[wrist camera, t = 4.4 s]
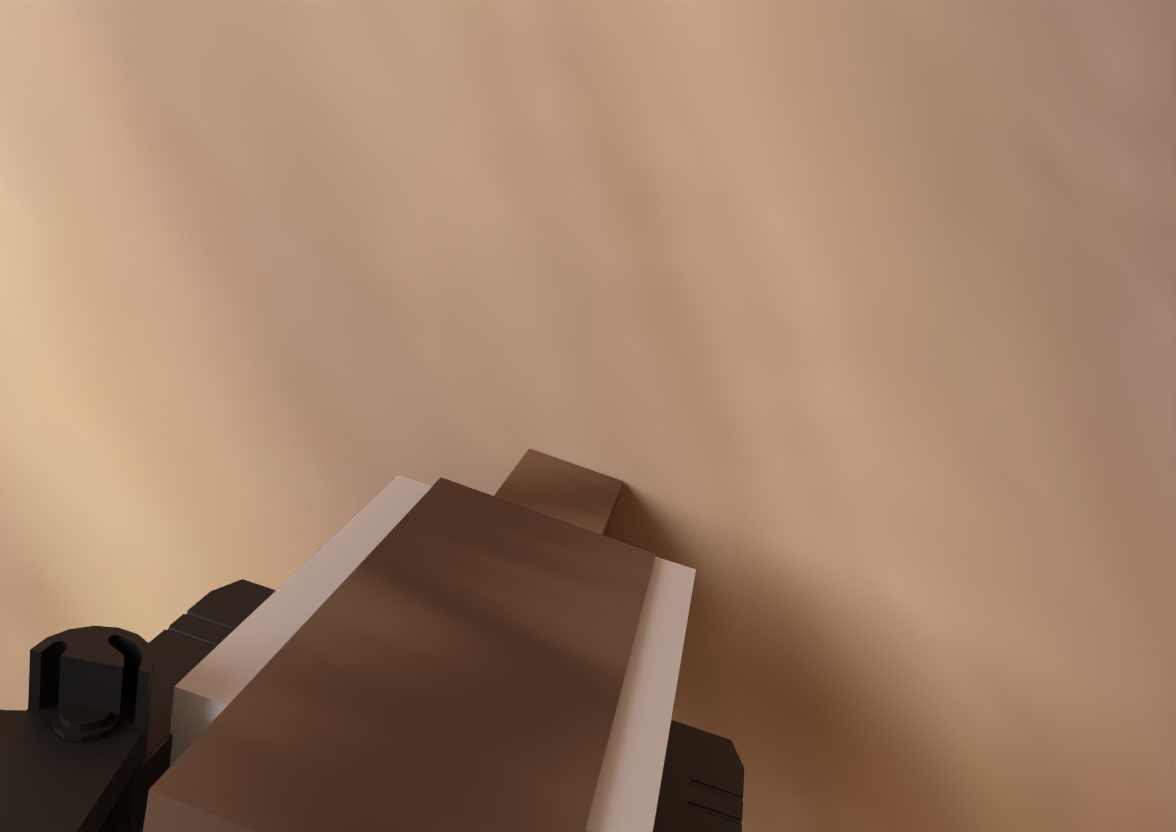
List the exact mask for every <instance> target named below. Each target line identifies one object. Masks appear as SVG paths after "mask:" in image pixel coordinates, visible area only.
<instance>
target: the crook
mask: <svg viewBox="0 0 1176 832" xmlns="http://www.w3.org/2000/svg"><path fill="white" fill-rule="evenodd" d="M622 483H623V482H622V481H619V480H617V479H614V478H611V477H608V476H605V475H602V474H599V473H597V472H594V471H591V470H588V469H585V468H582V467H579V466H577V465H574V464H571V463H568V462H565V461H562V460H559V459H557V458H554V457H551V456H548V455H545V454H542V453H539V452H536V451H534V450H531V449H529V450H528V451H527V452H526V454H525V455H524V456H523V458H522V459H521V460H520V462H519V463H518V464H517V466H516V467H515V468H514V470H513V471H512V472H511V474H510V475H509V476H508V478H507V479H506V481H505V482H504V483H503V485H502V486H501V487H500V489H499V490H498V491H497V493H496V494H495V495H494V496H492V495H489V494H486V493H483V492H480V491H478V490H475V489H472V488H469V487H466V486H464V485H461V484H458V483H455V482H452V481H450V480H447V479H444V478H440V479H439V480H438V481H437V482H436V483H435V484H434V485H433V486H432V487H431V488H430V490H429V491H428V492H427V493H426V494H425V495H424V496H423V497H422V498H421V499H420V500H419V501H418V502H417V503H416V504H415V506H414V507H413V508H412V509H411V510H410V511H409V512H408V513H407V514H406V515H405V516H404V517H403V518H402V519H401V521H400V522H399V523H398V524H397V525H396V526H395V527H394V528H393V529H392V530H391V531H390V532H389V533H388V534H387V536H386V537H385V538H384V539H383V540H382V541H381V542H380V543H379V544H378V545H377V546H376V547H375V548H374V549H373V550H372V552H371V553H370V554H369V555H368V556H367V557H366V558H365V559H364V560H363V561H362V562H361V563H360V564H359V565H358V567H357V568H356V569H355V570H354V571H353V572H352V573H351V574H350V575H349V576H348V577H347V578H346V579H345V580H344V581H343V583H342V584H341V585H340V586H339V587H338V588H337V589H336V590H335V591H334V592H333V593H332V594H331V595H330V596H329V598H328V599H327V600H326V601H325V602H324V603H323V604H322V605H321V606H320V607H319V608H318V609H317V610H316V611H315V613H314V614H313V615H312V616H311V617H310V618H309V619H308V620H307V621H306V622H305V623H304V624H303V625H302V626H301V627H300V629H299V630H298V631H297V632H296V633H295V634H294V635H293V636H292V637H291V638H290V639H289V640H288V641H287V642H286V644H285V645H284V646H283V647H282V648H281V649H280V650H279V651H278V652H277V653H276V654H275V655H274V656H273V657H272V658H271V660H270V661H269V662H268V663H267V664H266V665H265V666H264V667H263V668H262V669H261V670H260V671H259V672H258V673H257V675H256V676H255V677H254V678H253V679H252V680H251V681H250V682H249V683H248V684H247V685H246V686H245V687H244V688H243V690H242V691H241V692H240V693H239V694H238V695H237V696H236V697H235V698H234V699H233V700H232V701H231V702H230V703H229V704H228V706H227V707H226V708H225V709H224V710H223V711H222V712H221V713H220V714H219V715H218V716H217V717H216V718H215V719H214V721H213V722H212V723H211V724H210V725H209V726H208V727H207V728H206V729H205V730H204V731H203V732H202V733H201V734H200V735H199V737H198V738H197V739H196V740H195V741H194V742H193V743H192V744H191V745H190V746H189V747H188V748H187V749H186V750H185V752H184V753H183V754H182V755H181V756H180V757H179V758H178V759H177V760H176V761H175V762H174V763H173V764H172V765H171V767H170V768H169V769H168V770H167V771H166V772H165V773H164V774H163V775H162V776H161V777H160V778H159V779H158V780H157V781H156V783H155V784H154V785H153V786H152V787H151V788H150V789H149V793H148V800H147V806H146V813H145V820H144V826H143V832H585V828H586V825H587V821H588V817H589V813H590V809H591V805H592V801H593V797H594V794H595V790H596V786H597V782H598V778H599V774H600V770H601V766H602V762H603V759H604V755H605V751H606V747H607V743H608V739H609V735H610V731H611V728H612V724H613V720H614V716H615V712H616V708H617V704H618V700H619V697H620V693H621V689H622V685H623V681H624V677H625V673H626V669H627V665H628V662H629V658H630V654H631V650H632V646H633V642H634V638H635V634H636V631H637V627H638V623H639V619H640V615H641V611H642V607H643V603H644V600H645V596H646V592H647V588H648V584H649V580H650V576H651V572H652V568H653V565H654V561H655V557H656V554H655V553H652V552H649V551H646V550H644V549H641V548H638V547H635V546H632V545H629V544H627V543H624V542H621V541H618V540H615V539H613V538H610V537H607V536H605V534H606V531H607V528H608V525H609V522H610V519H611V516H612V513H613V510H614V507H615V504H616V501H617V498H618V495H619V492H620V489H621V486H622Z"/></svg>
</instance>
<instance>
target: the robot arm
mask: <svg viewBox="0 0 1176 832" xmlns="http://www.w3.org/2000/svg"><path fill="white" fill-rule="evenodd" d="M431 487H432V486H430V485H427V484H424V483H421V482H418V481H415V480H411V479H408V478H405V477H402V476H399V475H398V476H397V477H396V478H395V479H394V480H393V481H392V482H391V483H390V484H388V485H387V486H386V487H385V488H384V489H383V490H382V491H381V492H380V493H379V494H378V495H377V496H376V497H375V498H374V499H373V500H372V501H370V502H369V503H368V504H367V505H366V506H365V507H364V508H363V509H362V510H361V511H360V512H359V513H358V514H357V515H356V516H355V517H353V518H352V519H351V520H350V521H349V522H348V523H347V524H346V525H345V526H344V527H343V528H342V529H341V530H340V531H339V532H338V533H337V534H335V535H334V536H333V537H332V538H331V539H330V540H329V541H328V542H327V543H326V544H325V545H324V546H323V547H322V548H321V549H320V550H318V551H317V552H316V553H315V554H314V555H313V556H312V557H311V558H310V559H309V560H308V561H307V562H306V563H305V564H304V565H303V566H302V567H300V568H299V569H298V570H297V571H296V572H295V573H294V574H293V575H292V576H291V577H290V578H289V579H288V580H287V581H286V582H285V583H284V584H282V585H281V586H280V587H279V588H278V589H277V590H273V589H270V588H267V587H264V586H261V585H258V584H255V583H252V582H249V581H246V580H243V579H242V580H239V581H237V582H234V583H232V584H229V585H226V586H224V587H221V588H218V589H216V590H213V591H211V592H209V593H208V594H207V595H206V596H205V597H203V598H202V599H201V600H200V601H199V602H197V603H196V604H195V605H194V606H193V607H191V608H190V609H189V610H188V612H187V614H186V615H185V614H183V615H182V616H181V617H179V618H178V619H177V620H176V621H175V622H173V623H172V624H171V625H170V626H169V629H168V630H164V631H163V632H161V633H160V634H159V635H158V636H157V637H155V638H154V639H153V640H152V641H151V642H149V643H148V642H146V641H145V640H144V639H143V638H142V637H140V636H139V635H138V634H135V633H132V632H129V631H126V630H123V629H120V628H115V627H102V626H90V627H83V628H75V629H69V630H66V631H64V632H61V633H58V634H55V635H53V636H50V637H47V638H46V639H44V640H43V641H42V642H40V643H39V644H38V645H36V646H35V647H33V648H32V649H31V650H30V672H29V702H28V709H27V710H26V711H21V710H0V832H143V826H144V820H145V813H146V806H147V800H148V793H149V789H150V788H151V787H152V786H153V785H154V784H155V783H156V781H157V780H158V779H159V778H160V777H161V776H162V775H163V774H164V773H165V772H166V771H167V770H168V769H169V768H170V767H171V765H172V764H173V763H174V762H175V761H176V760H177V759H178V758H179V757H180V756H181V755H182V754H183V753H184V752H185V750H186V749H187V748H188V747H189V746H190V745H191V744H192V743H193V742H194V741H195V740H196V739H197V738H198V737H199V735H200V734H201V733H202V732H203V731H204V730H205V729H206V728H207V727H208V726H209V725H210V724H211V723H212V722H213V721H214V719H215V718H216V717H217V716H218V715H219V714H220V713H221V712H222V711H223V710H224V709H225V708H226V707H227V706H228V704H229V703H230V702H231V701H232V700H233V699H234V698H235V697H236V696H237V695H238V694H239V693H240V692H241V691H242V690H243V688H244V687H245V686H246V685H247V684H248V683H249V682H250V681H251V680H252V679H253V678H254V677H255V676H256V675H257V673H258V672H259V671H260V670H261V669H262V668H263V667H264V666H265V665H266V664H267V663H268V662H269V661H270V660H271V658H272V657H273V656H274V655H275V654H276V653H277V652H278V651H279V650H280V649H281V648H282V647H283V646H284V645H285V644H286V642H287V641H288V640H289V639H290V638H291V637H292V636H293V635H294V634H295V633H296V632H297V631H298V630H299V629H300V627H301V626H302V625H303V624H304V623H305V622H306V621H307V620H308V619H309V618H310V617H311V616H312V615H313V614H314V613H315V611H316V610H317V609H318V608H319V607H320V606H321V605H322V604H323V603H324V602H325V601H326V600H327V599H328V598H329V596H330V595H331V594H332V593H333V592H334V591H335V590H336V589H337V588H338V587H339V586H340V585H341V584H342V583H343V581H344V580H345V579H346V578H347V577H348V576H349V575H350V574H351V573H352V572H353V571H354V570H355V569H356V568H357V567H358V565H359V564H360V563H361V562H362V561H363V560H364V559H365V558H366V557H367V556H368V555H369V554H370V553H371V552H372V550H373V549H374V548H375V547H376V546H377V545H378V544H379V543H380V542H381V541H382V540H383V539H384V538H385V537H386V536H387V534H388V533H389V532H390V531H391V530H392V529H393V528H394V527H395V526H396V525H397V524H398V523H399V522H400V521H401V519H402V518H403V517H404V516H405V515H406V514H407V513H408V512H409V511H410V510H411V509H412V508H413V507H414V506H415V504H416V503H417V502H418V501H419V500H420V499H421V498H422V497H423V496H424V495H425V494H426V493H427V492H428V491H429V490H430V488H431ZM695 572H696V569H693V568H690V567H687V566H684V565H681V564H677V563H674V562H671V561H668V560H665V559H662V558H658V557H655V561H654V565H653V568H652V572H651V576H650V580H649V584H648V588H647V592H646V596H645V600H644V603H643V607H642V611H641V615H640V619H639V623H638V627H637V631H636V634H635V638H634V642H633V646H632V650H631V654H630V658H629V662H628V665H627V669H626V673H625V677H624V681H623V685H622V689H621V693H620V697H619V700H618V704H617V708H616V712H615V716H614V720H613V724H612V728H611V731H610V735H609V739H608V743H607V747H606V751H605V755H604V759H603V762H602V766H601V770H600V774H599V778H598V782H597V786H596V790H595V794H594V797H593V801H592V805H591V809H590V813H589V817H588V821H587V825H586V828H585V832H742V825H741V821H742V811H743V802H742V798H743V785H744V767H743V765H742V763H741V761H740V759H739V756H738V754H737V752H736V750H735V748H734V745H733V743H732V741H731V740H729V739H726V738H723V737H720V736H717V735H714V734H711V733H708V732H705V731H702V730H699V729H696V728H693V727H690V726H687V725H684V724H681V723H678V722H675V721H672V720H671V718H672V712H673V706H674V700H675V694H676V687H677V681H678V675H679V669H680V663H681V657H682V651H683V645H684V639H685V633H686V627H687V621H688V615H689V609H690V603H691V596H692V590H693V584H694V578H695Z"/></svg>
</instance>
